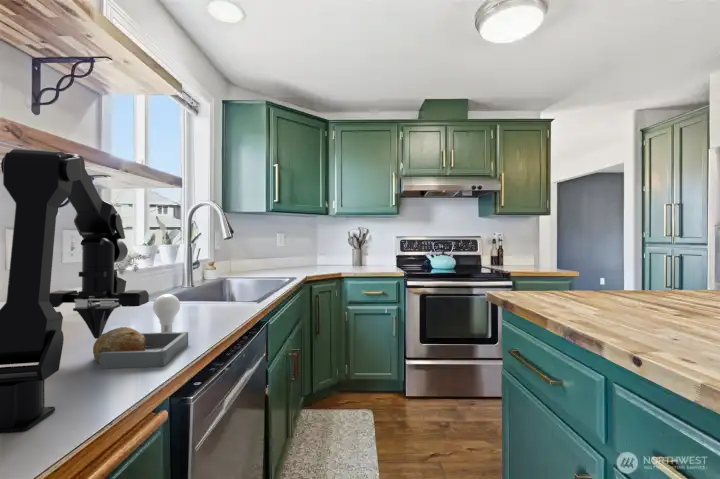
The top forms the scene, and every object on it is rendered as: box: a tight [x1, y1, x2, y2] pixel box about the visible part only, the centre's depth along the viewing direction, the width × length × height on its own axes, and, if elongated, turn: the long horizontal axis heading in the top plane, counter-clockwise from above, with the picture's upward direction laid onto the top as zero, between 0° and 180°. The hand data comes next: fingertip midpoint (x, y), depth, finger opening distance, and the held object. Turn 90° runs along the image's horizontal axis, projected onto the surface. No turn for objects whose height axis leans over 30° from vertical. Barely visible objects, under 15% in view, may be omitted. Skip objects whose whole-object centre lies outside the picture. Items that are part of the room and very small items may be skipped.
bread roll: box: [92, 326, 146, 362], centre depth 84 cm, size 10×10×8 cm
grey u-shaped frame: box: [99, 331, 189, 369], centre depth 85 cm, size 16×12×3 cm
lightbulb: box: [152, 293, 181, 333], centre depth 101 cm, size 6×6×11 cm
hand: (97, 338), depth 83 cm, fingers closed
